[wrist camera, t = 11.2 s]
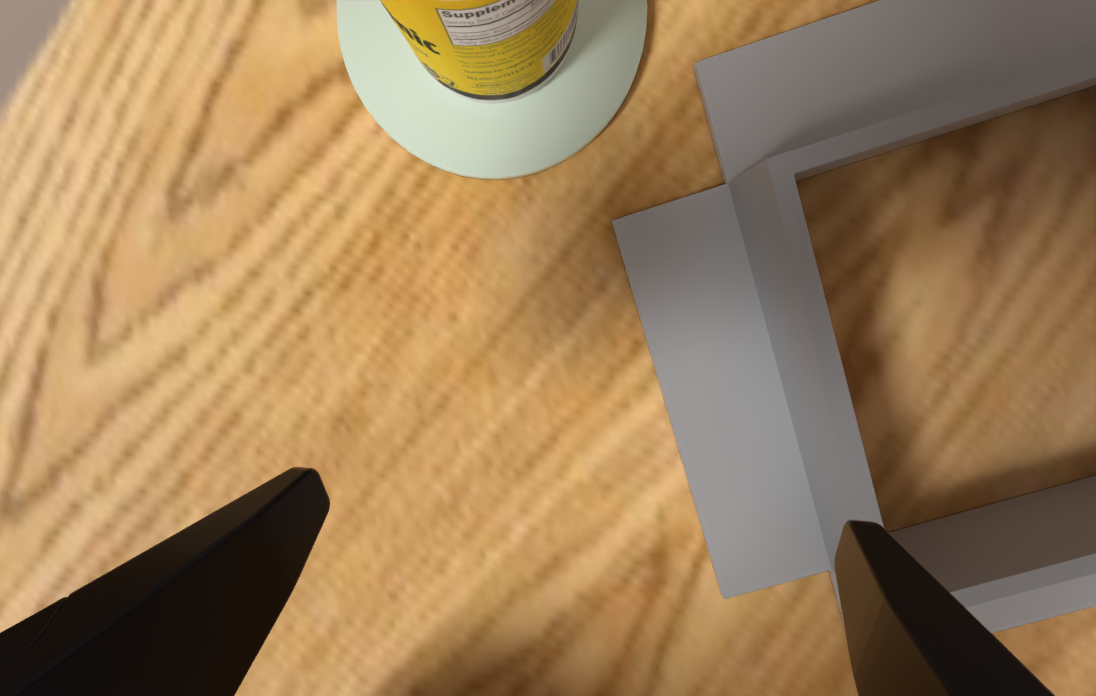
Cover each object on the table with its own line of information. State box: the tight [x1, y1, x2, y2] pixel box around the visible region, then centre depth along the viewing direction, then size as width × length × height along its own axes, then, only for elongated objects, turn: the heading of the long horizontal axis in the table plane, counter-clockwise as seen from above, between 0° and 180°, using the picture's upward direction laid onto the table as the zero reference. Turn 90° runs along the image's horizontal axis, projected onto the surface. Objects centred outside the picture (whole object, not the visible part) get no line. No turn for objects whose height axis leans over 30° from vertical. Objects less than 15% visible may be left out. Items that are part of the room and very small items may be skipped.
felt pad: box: [337, 0, 647, 180], centre depth 17 cm, size 10×10×1 cm
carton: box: [612, 0, 1096, 633], centre depth 16 cm, size 22×22×4 cm
